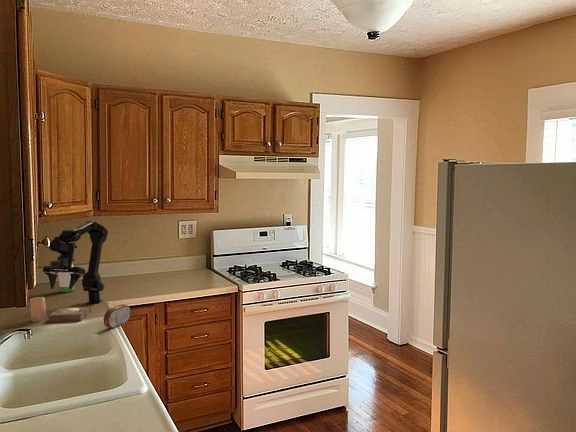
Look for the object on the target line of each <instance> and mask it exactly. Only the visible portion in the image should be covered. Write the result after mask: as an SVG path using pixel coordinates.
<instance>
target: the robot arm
mask: <svg viewBox="0 0 576 432" xmlns="http://www.w3.org/2000/svg"><path fill="white" fill-rule="evenodd" d="M108 233H109V231H108V229H107V228H106V227H105V226H104V225H102V224H100V223H98V222H97V221H95V220H87V221H85V222H84V223H81V224H79V225H78V226H76V227H74V228H67V229H63V230H62V231H61V233H60V235H59V236H54V239H52V240H51V241H50V242H49V244H50V246H49V245H48V248H49V250H50V251H51V252H54V253H56V254H60V255H59V256H60V257H59V256H57V259H54V260H50V261H49V264H50V265H49V266H48V265H46V266H44V267H42V273H44V274H45V275H47V277H48V280H49V285H50V289H51V290H53V289H54V288H55V284H56V282H57V278H58V273H59V272H67V273H70V276H71V279H70V285H69V289H72V287H73V286H74V287H75V284H76V283H77V281H78V280H79V279H80V278H81V277H82V279H81V285H82V289H83V292H87V301H86V302H85V304H86V305H87V304H90V305H91V304H100V303H101V302H102V301H103V299H101V291H102V292H103V291H104V289H105V284H103V282H102V281H101V278H102V277H101V275H100V273H99V268H100V261H101V253H102V248H103V244H104V243H105V242H106V240H107V237H108ZM85 234H88V235H89V239H90V241H91V248H90V256H89V261H88V267H87V268H88V269H87V271H86V269H85V268H83V267H80V266H73V267H72V261H73V262H75V258H74V254H75V251H76V250H75V249H78V245H76V242H78V241H79V240H80V239H81V238H82V237H81V236H83V235H85ZM61 270H63V271H61ZM66 270H67V271H66Z"/></svg>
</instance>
